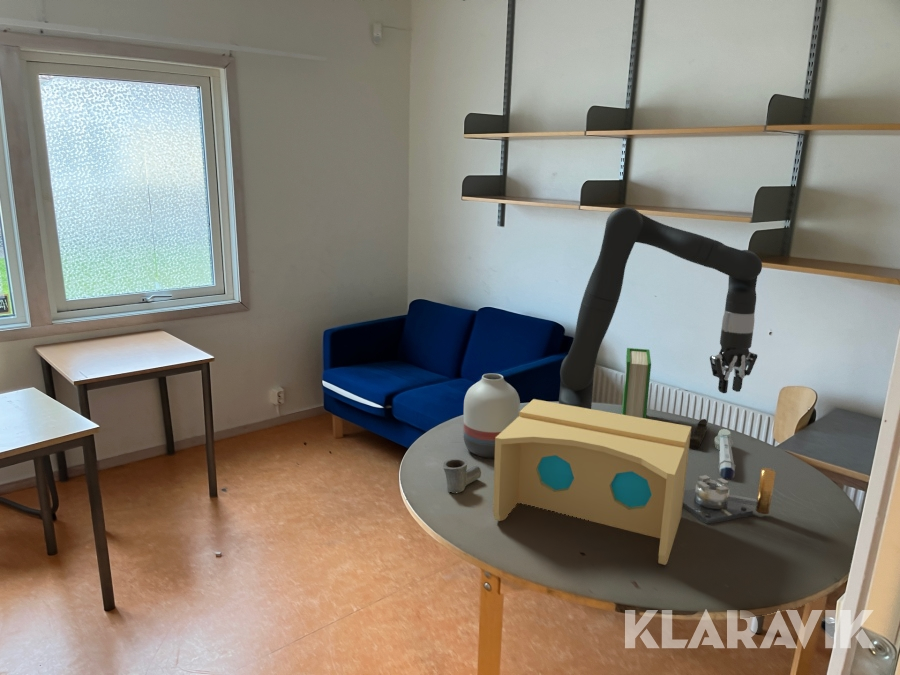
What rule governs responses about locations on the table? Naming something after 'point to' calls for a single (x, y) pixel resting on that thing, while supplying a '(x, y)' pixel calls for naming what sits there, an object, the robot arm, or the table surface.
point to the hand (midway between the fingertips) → (729, 391)
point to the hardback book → (636, 382)
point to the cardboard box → (594, 468)
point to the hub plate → (714, 510)
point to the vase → (488, 413)
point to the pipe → (459, 474)
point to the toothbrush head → (725, 454)
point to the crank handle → (718, 495)
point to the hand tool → (698, 435)
